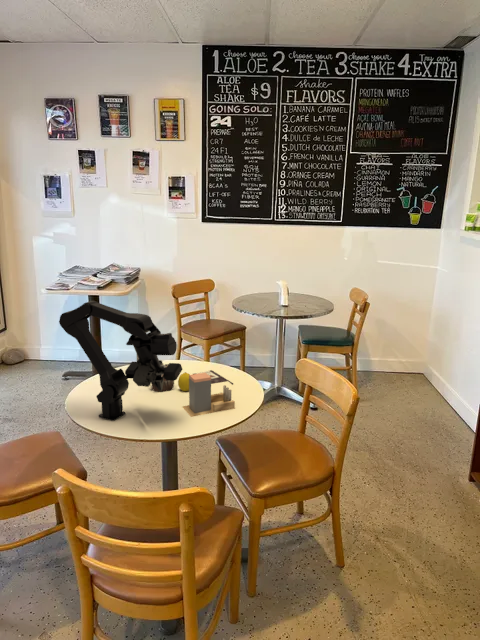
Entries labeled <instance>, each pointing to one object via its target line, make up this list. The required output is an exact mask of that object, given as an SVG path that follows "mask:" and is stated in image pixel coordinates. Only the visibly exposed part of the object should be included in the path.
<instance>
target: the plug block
mask: <svg viewBox="0 0 480 640" xmlns="http://www.w3.org/2000/svg"><path fill="white" fill-rule="evenodd" d="M198 373H199V374H194V373H192V374H190V375H189V391H188V398H189V400H188V402H189V408H190V409H191V410H192V411H193V412H194V413H199V412H204V411H210V410H211V395H212V384H211V377H210V376H209V375H208V374H207V373H200V372H198Z"/></svg>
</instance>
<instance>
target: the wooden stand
mask: <svg viewBox="0 0 480 640" xmlns="http://www.w3.org/2000/svg"><path fill="white" fill-rule="evenodd" d="M222 388H223V389H222V392H219V393H213V394H211V410H210V411H204V412H199V413H194V412H193V411H192V410H191V409H190V408H189V405H183V406H181V408H183V409H184V411H185V412H186V414H188V415H189V416H190V418H192V417H193V418H194V417H199V416H202V415H203V416H204V415H208V414H213V413H218V412H224V411H229V410H233V409H236V407H235V406H236V405H235V404H236V403H235V400H232V389H229V387H227V385H225V384H224V385H223V387H222Z"/></svg>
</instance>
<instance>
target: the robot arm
mask: <svg viewBox="0 0 480 640" xmlns="http://www.w3.org/2000/svg"><path fill="white" fill-rule="evenodd" d="M91 317H94V318H97V319H99V320H102V321H106V322H108V323H111V324H114V325H116V326H119V327H121V328H122V329H123V330H124V332H126V333H128V334H129V335H130V336H129V338H128V341H126V343H125V345H126V346H133V348H134V351H135V353H136V357H137V356H138V358H139V359H138V361H137V360H136V361H131V362H130V364H129V365H128V366H127V368H126V369H125V370H123V368H119V369H116V368H115V367H113V365H112V363H111V362H110V360H109V359H108V358H107V356H106V355H105V353H104V351H103V350H102V348H101V346H100V345H99V344H98V342H97V341H96V339H95V337H94V336H93V334H92V333H91V330H90V322H89V318H91ZM151 318H152V317H151V316H150V315H149V314H144V313H136V312H135V313H134V312H133V313H132V312H125V311H123V310H120V309H117V308H114V307H111V306H109V305H106V304H102V303H100V302H98V301H95V300H90V301H87V302H84V303H83V304H81V305H80V306H78V307H76V308H74V309H71V310H68V311H66V312H63V313H61V315H59V321H58V323H59V325H60V327H61V328H62V329H63V331H64V332H65V333H67V335H69V336H71V337H73V338H74V339H75V340H76V341H77V342H78V344H79V346H80V347H81V349H82V351H83V352H84V353H85V356H86V357H87V358H88V360H89V362H90V363H91V364H92V366H93V367H94V369H95V371H96V372H97V374H98V376H99V383H100V384H99V386H100V387H101V391H100V392H99V393H98V394H97V395H96V400H97V402H99V403H101V413H100V414H98V417H99V418H101V419H106V420H108V421H115V420H117V419H119V418H121V417H122V416H124V415H126V414H127V412H126V411H123V409H124V407H123V399H122V396H124V395H125V394H126V392H127V390H128V388H129V384H130V383H129V380H128V379H132V381H133V382H134V384H136V386H138V387H144V388H146V387H147V388H148V387H150V386H151V385H152V384H153V385H154V386H155V387H156V388H157V389H158V390H159V391H162V389H163V382H164V379H166V380H170V381H174V382H175V381H177V379H179V377H180V375H181V373H182V371H183V366H182V364H181V363H180V362H179V363H177V362H176V363H175V362H169V363H167V364H168V366H167V367H166V366H165V364H163V365H161V364H162V363H163V360H161V359H159V357H158V356H175V354H176V352H177V349H178V348H177V347H178V345H177V343H178V342H177V341H176V340H175V339H176V338H175V337H173V334H172V333H171V332H166V333H161V331H160V329H159V328H158V327H157V326H156V325H155V324H154V321H153V320H152V319H151ZM165 367H166V368H165ZM151 383H152V384H151Z"/></svg>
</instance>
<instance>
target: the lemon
mask: <svg viewBox="0 0 480 640" xmlns="http://www.w3.org/2000/svg"><path fill="white" fill-rule="evenodd" d="M189 375H191V373H187V372H183V373H182V374H181V373H180V374H179V376H178V381H177V384H178V387H179V389H180V390H181V391H182V392H189Z"/></svg>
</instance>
